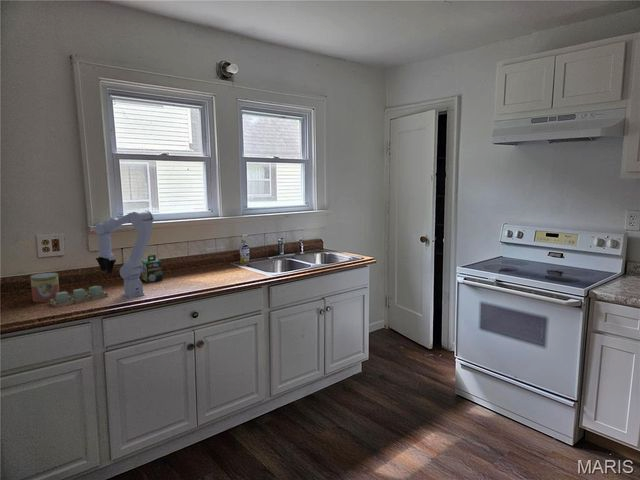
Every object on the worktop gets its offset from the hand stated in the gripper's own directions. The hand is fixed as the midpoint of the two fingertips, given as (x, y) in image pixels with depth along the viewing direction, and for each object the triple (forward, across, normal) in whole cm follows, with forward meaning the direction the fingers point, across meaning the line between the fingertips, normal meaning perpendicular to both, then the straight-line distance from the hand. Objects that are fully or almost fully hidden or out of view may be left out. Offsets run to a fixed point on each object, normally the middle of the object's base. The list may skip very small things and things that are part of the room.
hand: (106, 271), depth 215 cm
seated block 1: (+10, -7, +23) cm, 26 cm away
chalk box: (+11, +7, -28) cm, 31 cm away
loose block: (+10, -7, +9) cm, 15 cm away
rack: (+10, -7, +16) cm, 20 cm away
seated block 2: (+10, -7, +16) cm, 20 cm away
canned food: (+11, +7, +26) cm, 29 cm away
